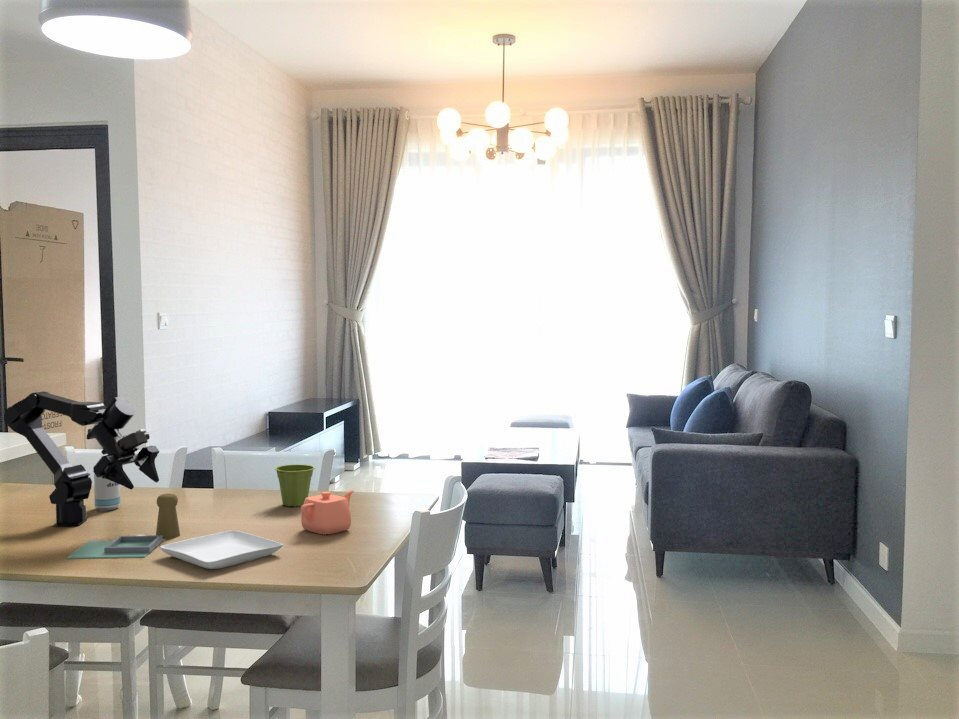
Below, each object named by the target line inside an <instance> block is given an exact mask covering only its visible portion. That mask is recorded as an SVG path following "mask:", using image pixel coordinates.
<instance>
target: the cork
mask: <svg viewBox="0 0 959 719" xmlns="http://www.w3.org/2000/svg"><path fill="white" fill-rule="evenodd" d="M178 500H179V498H178V495H176V494H174V493H163V494H159V495H158V496H157V498H156V505H157V507H158V514H157V522H156V531H155V535H163V540H171V539H176V538H178V537H180V536H181V532H180V524H179V519H178V512H177V506H178V502H179V501H178Z"/></svg>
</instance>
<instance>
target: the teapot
mask: <svg viewBox="0 0 959 719" xmlns="http://www.w3.org/2000/svg"><path fill="white" fill-rule="evenodd" d="M354 492H355V490H354V489H353V490H348V491H347V492H346V493H345V494H344V497H343V496H341V495H336V494H331V492H330V491H322V492H321V494H317V495H312V496H308V497H307V498H305V501H304V505H302V506H300V508H299V509H300V512H301V520H300V521H301V527H302V529H303V530H305V531H307V532H311V533H314V534H319V535H321V534H323V535H322V536H326V534H328V535H331V534H336V533H339V532H344V531H346V530H349V529H350V527H351V525H352V516H351V510H350V503H351V502H350V500H351V496H352V495H353V493H354ZM324 534H325V535H324Z"/></svg>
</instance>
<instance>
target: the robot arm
mask: <svg viewBox="0 0 959 719" xmlns="http://www.w3.org/2000/svg"><path fill="white" fill-rule="evenodd" d="M46 411H50V412H53V413H57V414H60V415H63V416H67V417H68V418H70V420H71V421H72V422H74V423H76V424H77V425H78V426H81V427H85V426H91V425H93V427H92V428H88V429H87V434H86V440H93V439H95V440H96V441H97V443H98V444H99V446H100V447H101V448H102V450H101V454H102V455H103V456H101V457H100V458H99V460H98V461H97V462H96V463H95V465H93V470H92V471H93V475H94V474H95V475H96V476H97V478H98V477H102V478H103V479H108V480H110V481H113V482H115V483H118V484H120V486H123V487H124V488H127V489H128V490H133V489H134V488H135V486H134V484H133V482H132V481H131V478H130V477H129V476H128V475H127V473H126V471H125V470H124V466H125V465H128V464H134V465H135V466H136V467H138V470H139V471H140V472H141V473H143V474H144V475H145V476H147V477H148V478H149V479H150V480H152V481H153V482H155V483H158V482H159V481H160V478H159V475H158V470H157V468H156V458H157V457H158V454H159V453H160V450H159V449H158V448H157V446H156V445H149V446H144V447H142V448H141V449H140V450H139V447H140V446H141V445H144V444H147V443H149V442H148V440H150V434H149V432H148V430H146V429H145V428H141V429H139V430H137V431H135V432H132V433H129V434H127V435H125V434H124V435H122V434H121V432H120V431H119V430H122V429H124V427H126V426H127V424H128V423H129V421H130V420H131V419H132V418H133V417H134V415H136V413H137V409H136V407H135V405H134V404H132V403H130V402H129V401H127V400H124V399H123V398H121V397H120V396H117V397H113V398H112V400H111V401H110V403H109V404H108V406H105V404H104V403H103V402H100V401H77V400H73V399H69V398H67V397H64V396H63V397H62V396H60V395H56V394H53V393H50V392H48V391H37V392H36V391H35V392H31V393H29V394H28V395H27V396H25V398H22V399H21V400H19V401H18V402H16V403H14V404H13V405H11V406H9V407H8V408H6V410H5V412H4V413H3V421H4V423H5V424H6V426H8V427H9V429H10V430H12V431H13V432H14V433H16V434H18V435H20V436H23V437H25V439H26V440H27V442H28V443H29V444H30V445H31V446H32V448H33V449H34V451H35V452H36V453H37V455H39V457H40V459H41V460H42V461H43V462H44V463H45V465H46V466H47V468H48V469H49V470H50V472H51V473H52V474H53V485H54V487H55V489H54V490H53V491H52V492H51V493H50V495H49V496H48V498H49V500H50V504H52V505H55V517H56V520H55V522H54V524H53V526H54V527H70V526H71V527H76V526H80V525H82V524H83V523H84V522H87V521H88V520H87V519H88V518H87V506H86V505H85V502H84V500H88V499H89V497H90V494H91V490H92V486H93V481H92V478H91V477H90V476H91V473H89V472H88V471H87V470H86V468H85V466H84V465H82V464H80V463H79V464H77V465H75V464H74V465H72V463H71V462H70V461H69V460H68V458H67V457H66V456H65V455H64V454H63V452H62V451H61V450H60V448H59V447H58V446H57V444H56V443H55V442H54V440H53V438H51V436H50V435H49V433H47V431H46V430H45V429H44V427H43V417H42V415H43V414H44V413H45V412H46ZM138 450H139V452H137V451H138ZM136 452H137V453H136Z"/></svg>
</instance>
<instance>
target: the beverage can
mask: <svg viewBox="0 0 959 719" xmlns="http://www.w3.org/2000/svg"><path fill="white" fill-rule="evenodd" d="M93 482H94V483H93V487H94V488H93V490H94V508H96V509H98V511H104V512H105V511H115V510H116V509H117V508H118V507H119V506H120V505H121V485H120V484H118V483H115V482H113V481H110V480H108V479H103V478H102V477H98V478H97V476H96V475H95V474H94V473H93Z"/></svg>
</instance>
